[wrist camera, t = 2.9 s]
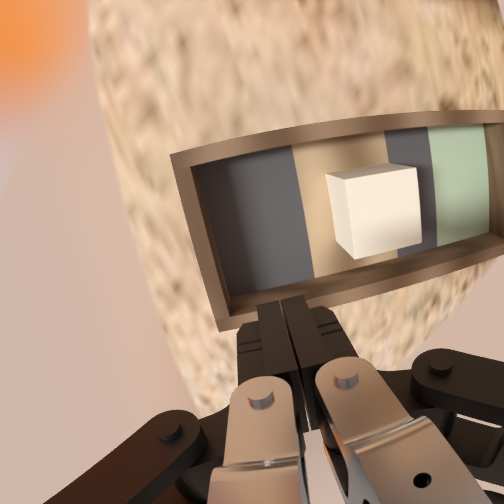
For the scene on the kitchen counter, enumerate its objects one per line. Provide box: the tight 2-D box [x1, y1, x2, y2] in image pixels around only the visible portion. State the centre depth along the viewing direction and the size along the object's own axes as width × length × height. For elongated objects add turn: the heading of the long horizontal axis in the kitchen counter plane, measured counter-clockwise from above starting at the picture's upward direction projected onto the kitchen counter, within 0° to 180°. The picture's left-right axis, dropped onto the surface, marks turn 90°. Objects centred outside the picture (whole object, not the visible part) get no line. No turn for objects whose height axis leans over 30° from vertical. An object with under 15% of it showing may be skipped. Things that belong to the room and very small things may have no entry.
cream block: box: [326, 163, 422, 259], centre depth 21 cm, size 5×5×4 cm
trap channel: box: [170, 110, 504, 332], centre depth 22 cm, size 26×12×4 cm, turn 102°
